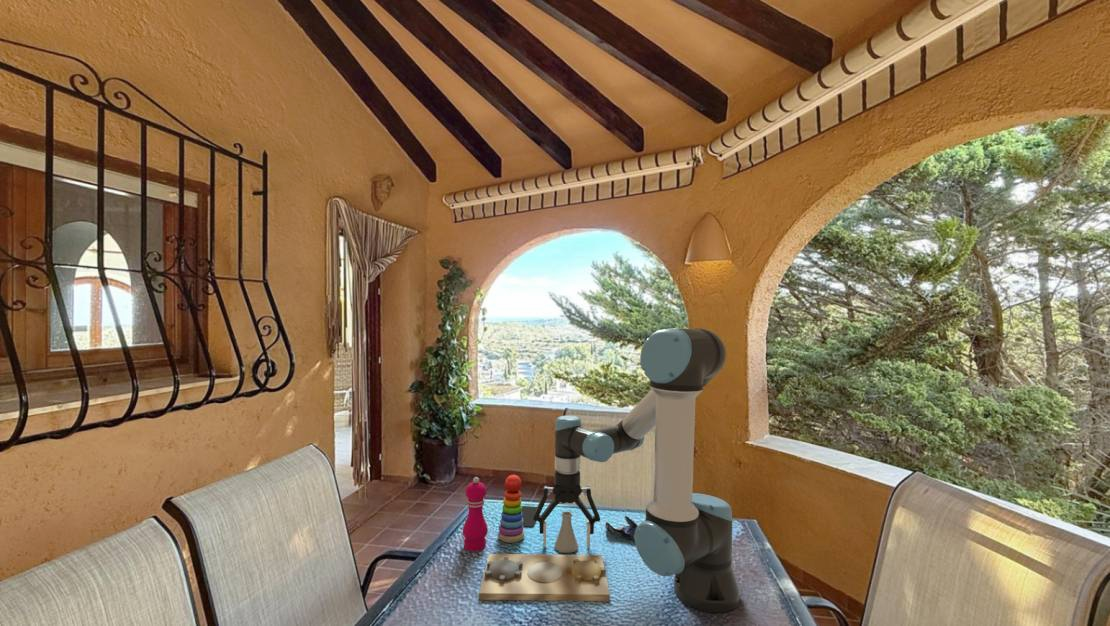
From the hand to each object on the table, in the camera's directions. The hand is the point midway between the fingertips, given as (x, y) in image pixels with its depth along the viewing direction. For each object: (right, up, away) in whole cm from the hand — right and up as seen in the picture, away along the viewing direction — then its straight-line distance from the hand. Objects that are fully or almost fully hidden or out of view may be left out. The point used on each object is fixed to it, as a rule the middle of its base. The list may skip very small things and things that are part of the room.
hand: (566, 544), depth 132 cm
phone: (-13, -2, +20) cm, 24 cm away
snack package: (+19, -2, +9) cm, 21 cm away
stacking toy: (-17, -1, +5) cm, 18 cm away
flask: (0, -1, 0) cm, 1 cm away
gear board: (-6, -1, -16) cm, 17 cm away
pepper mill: (-27, -1, 0) cm, 27 cm away
